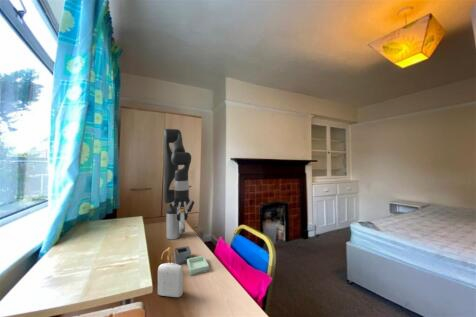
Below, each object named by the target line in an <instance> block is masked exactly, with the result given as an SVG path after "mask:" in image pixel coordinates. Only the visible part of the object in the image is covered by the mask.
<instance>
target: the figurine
mask: <svg viewBox="0 0 476 317" xmlns="http://www.w3.org/2000/svg"><path fill="white" fill-rule="evenodd" d="M174 250H176V249H174V247H170V246H168V247H167V249H165V250H164V251H163V252H162V254H161V257H160V259H161V260H163V256H164V254H165V253H166V252H167V257H166V258H167V263H173V261H174V253H172V252H173V251H174ZM176 252H177V250H176ZM177 253H178V252H177ZM178 256H179V253H178ZM170 259H171V261H170Z"/></svg>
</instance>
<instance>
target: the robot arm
mask: <svg viewBox="0 0 476 317" xmlns="http://www.w3.org/2000/svg"><path fill="white" fill-rule="evenodd" d="M170 144H172V145H171V147H170ZM163 150H164V162H163V165H164V166H163V167H164V168H163V170H164V171H163V172H164V173H163V174H164V175H163V176H164V179H163V180H164V181H163V182H164V186H163V202H164V204H168V205H169V207H167V208H166V210H165V213H166V214H165V215H166V216H165V219H166V222H165V223H166V224H165V225H166V227H165V228H166V229H165V230H166V239H167V240H177V239H178V238H180V237H181V233H179V221H180V214H179V210H180V208H182V207H184V208H185V221H187V220H188V218H189V217H188V213H191V212H192V209H193V207H194V205H195V201H194V200H191V199H190V184H189V171H190V165H191V162H192V155H191V153H190V152H188V151H186V150H185V147H184V143H183V137H182V132H181V130H180V129H178V128H177V129H175V128H165V129H164V130H163ZM179 166H183V167H182V168H179ZM173 181H174V189H170V187H171V184H172V183H173ZM188 205H189V206H188Z"/></svg>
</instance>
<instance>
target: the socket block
mask: <svg viewBox="0 0 476 317" xmlns="http://www.w3.org/2000/svg"><path fill="white" fill-rule="evenodd" d="M173 249H176V250H177V252H178V253H179V256H178V253H177V252H176V250H173V259H174V264H178V265H181V264H185V263H186V264H187V259H189V258H192V250H191V249H190V246H189V245H186V246H181V247H176V248H174V247H173Z"/></svg>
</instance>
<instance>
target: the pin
mask: <svg viewBox="0 0 476 317" xmlns="http://www.w3.org/2000/svg"><path fill="white" fill-rule="evenodd" d="M179 214H180V221H179V233H180V234H184V233H186V220H185V208H184V207H182V208H180V210H179Z"/></svg>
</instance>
